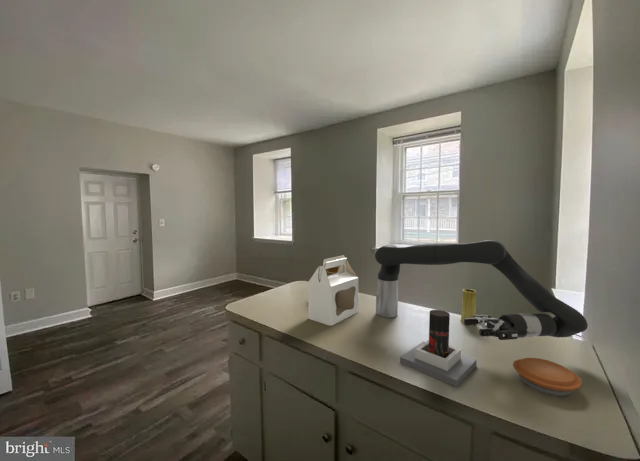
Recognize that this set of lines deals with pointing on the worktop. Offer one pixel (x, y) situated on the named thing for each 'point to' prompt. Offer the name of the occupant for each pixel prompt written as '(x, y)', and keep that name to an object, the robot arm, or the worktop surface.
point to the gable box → (333, 292)
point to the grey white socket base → (439, 363)
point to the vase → (468, 304)
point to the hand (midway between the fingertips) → (471, 327)
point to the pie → (547, 376)
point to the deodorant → (439, 333)
